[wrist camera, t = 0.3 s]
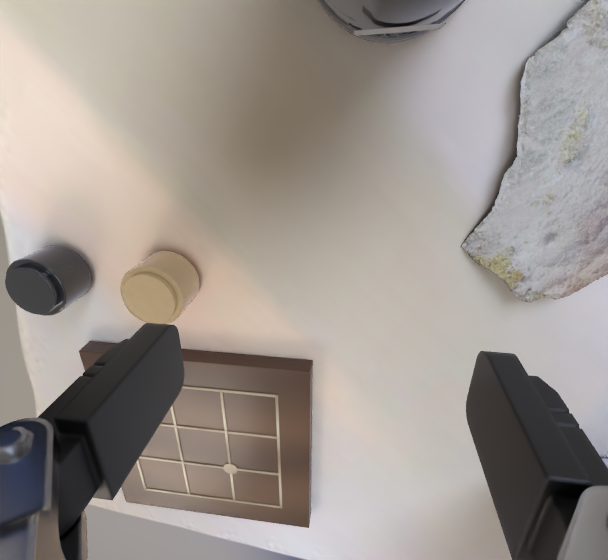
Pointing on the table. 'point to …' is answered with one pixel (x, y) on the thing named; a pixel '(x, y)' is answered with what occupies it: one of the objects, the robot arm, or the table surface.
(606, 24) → the decorative stone
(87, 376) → the robot arm
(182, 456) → the board
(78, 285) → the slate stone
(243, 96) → the table surface
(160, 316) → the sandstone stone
